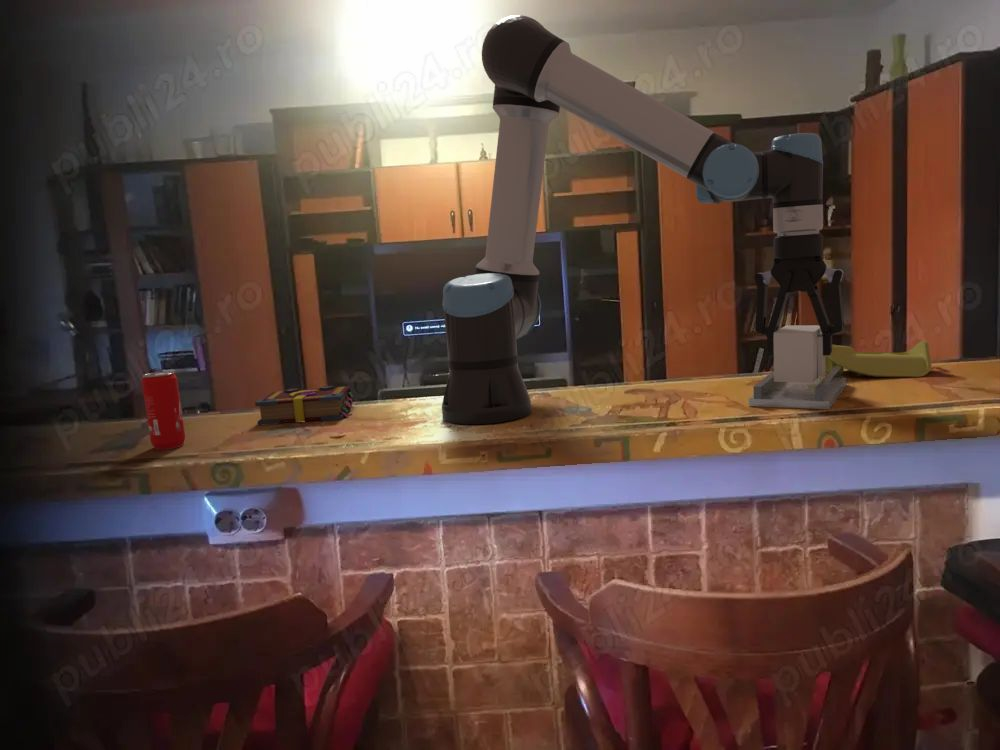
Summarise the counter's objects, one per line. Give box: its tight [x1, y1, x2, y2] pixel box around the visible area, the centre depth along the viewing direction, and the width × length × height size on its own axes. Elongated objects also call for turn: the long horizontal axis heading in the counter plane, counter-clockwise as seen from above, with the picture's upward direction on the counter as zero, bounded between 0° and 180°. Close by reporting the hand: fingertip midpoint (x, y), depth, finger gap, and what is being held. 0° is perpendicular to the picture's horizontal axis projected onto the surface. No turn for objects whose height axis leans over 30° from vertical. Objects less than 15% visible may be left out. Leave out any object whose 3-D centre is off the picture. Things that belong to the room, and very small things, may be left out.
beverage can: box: [141, 370, 186, 451], centre depth 126 cm, size 5×5×12 cm
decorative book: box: [254, 385, 354, 426], centre depth 144 cm, size 11×16×5 cm
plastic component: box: [824, 340, 932, 378], centre depth 145 cm, size 20×7×10 cm
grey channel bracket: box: [748, 366, 848, 410], centre depth 131 cm, size 12×20×3 cm, turn 149°
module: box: [773, 324, 822, 383], centre depth 130 cm, size 6×10×8 cm, turn 149°
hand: (799, 374), depth 131 cm, fingers closed on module, 6 cm apart
